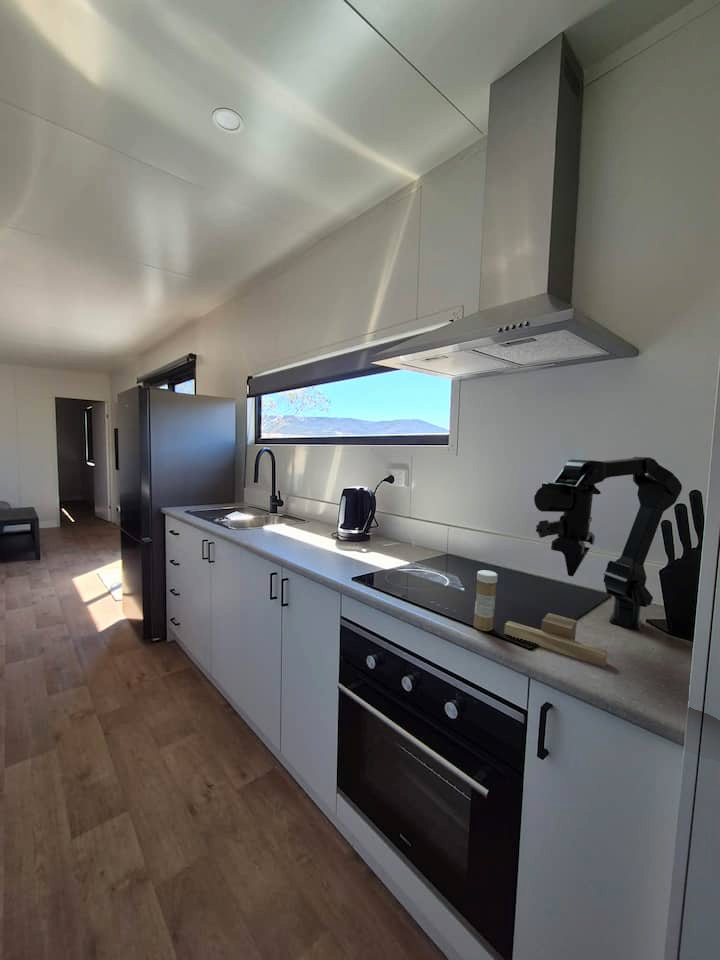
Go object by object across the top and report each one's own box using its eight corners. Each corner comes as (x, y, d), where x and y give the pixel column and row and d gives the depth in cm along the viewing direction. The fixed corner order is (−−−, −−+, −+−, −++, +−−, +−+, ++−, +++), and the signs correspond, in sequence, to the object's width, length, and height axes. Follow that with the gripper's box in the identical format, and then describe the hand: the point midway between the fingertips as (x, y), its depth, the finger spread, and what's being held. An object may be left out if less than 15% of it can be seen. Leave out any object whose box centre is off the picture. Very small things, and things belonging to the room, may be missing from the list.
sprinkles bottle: (478, 621, 99) (482, 568, 98) (496, 628, 96) (501, 573, 95) (469, 627, 95) (474, 571, 94) (487, 633, 92) (492, 576, 91)
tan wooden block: (546, 633, 95) (548, 612, 94) (574, 641, 91) (576, 620, 91) (539, 642, 90) (541, 620, 90) (569, 651, 86) (571, 628, 86)
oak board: (507, 630, 94) (508, 620, 94) (606, 662, 82) (607, 650, 82) (504, 634, 92) (505, 623, 92) (604, 667, 80) (605, 655, 80)
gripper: (550, 504, 108) (545, 561, 109) (530, 510, 94) (524, 576, 95) (597, 510, 101) (591, 571, 103) (584, 518, 87) (577, 588, 88)
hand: (570, 575), depth 97 cm, fingers closed
